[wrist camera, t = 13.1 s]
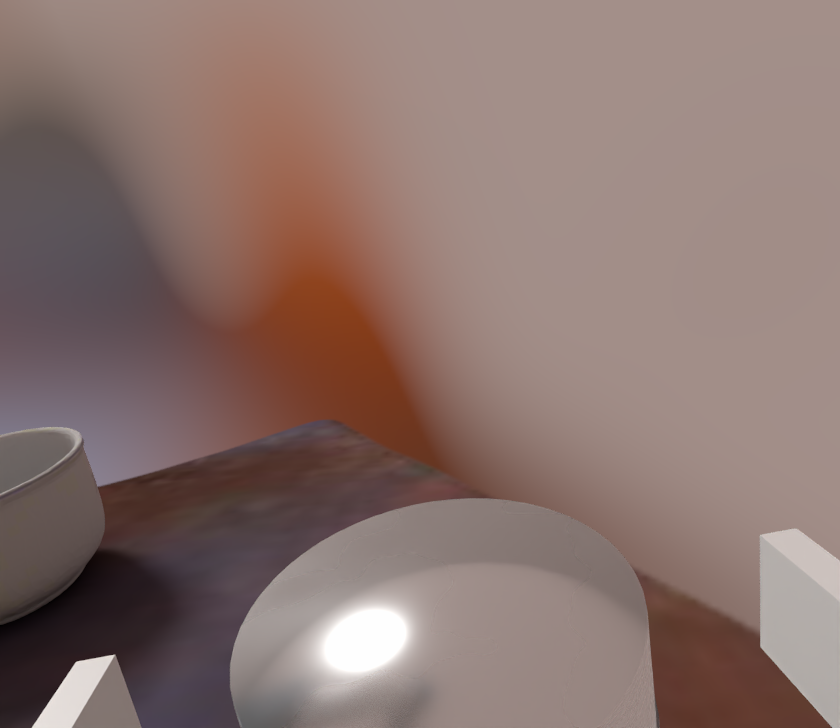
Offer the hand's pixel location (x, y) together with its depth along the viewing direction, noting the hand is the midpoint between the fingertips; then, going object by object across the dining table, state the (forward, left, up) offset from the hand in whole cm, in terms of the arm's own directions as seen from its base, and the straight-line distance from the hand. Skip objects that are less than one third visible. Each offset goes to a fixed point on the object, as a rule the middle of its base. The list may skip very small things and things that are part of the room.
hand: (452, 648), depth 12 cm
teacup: (-6, +32, -9) cm, 34 cm away
